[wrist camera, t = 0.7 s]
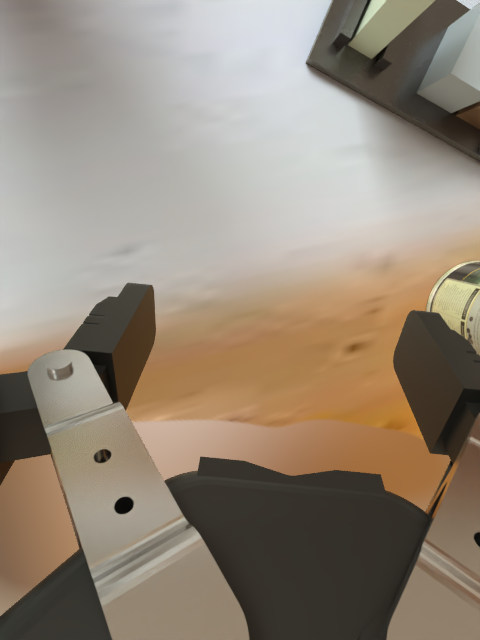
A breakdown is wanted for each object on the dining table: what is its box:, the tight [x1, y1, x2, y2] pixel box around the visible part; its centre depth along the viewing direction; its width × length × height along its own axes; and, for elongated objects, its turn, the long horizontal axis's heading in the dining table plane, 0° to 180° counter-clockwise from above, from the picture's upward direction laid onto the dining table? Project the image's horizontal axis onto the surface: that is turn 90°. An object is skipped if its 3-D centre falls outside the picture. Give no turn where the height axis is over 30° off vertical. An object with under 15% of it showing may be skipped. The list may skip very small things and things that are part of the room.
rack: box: [306, 0, 480, 161], centre depth 35 cm, size 21×10×4 cm, turn 66°
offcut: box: [417, 3, 480, 113], centre depth 34 cm, size 4×6×5 cm, turn 156°
